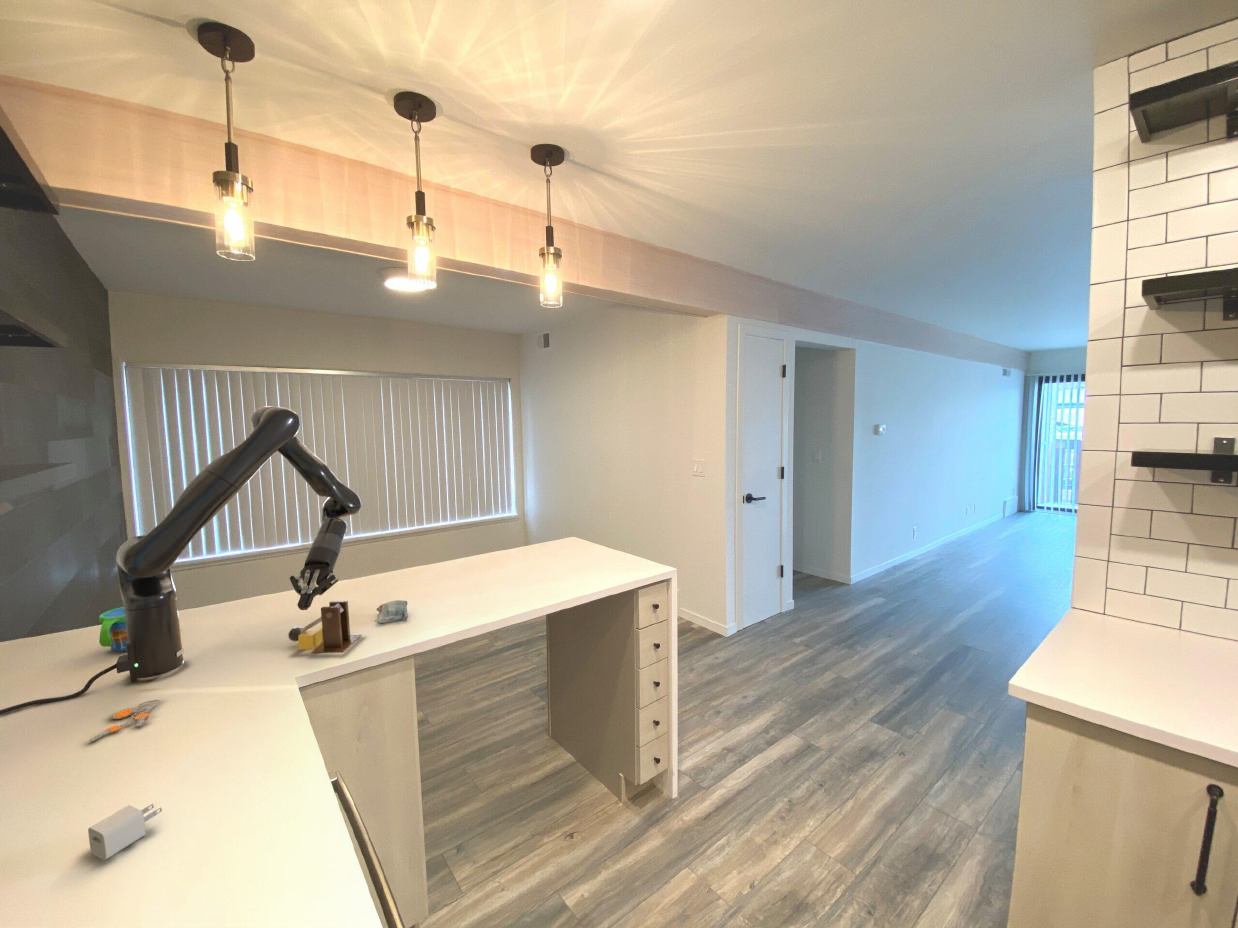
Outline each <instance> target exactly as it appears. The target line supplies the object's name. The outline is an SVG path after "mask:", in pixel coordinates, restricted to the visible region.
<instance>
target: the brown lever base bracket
mask: <svg viewBox="0 0 1238 928" xmlns="http://www.w3.org/2000/svg"><path fill="white" fill-rule="evenodd" d="M338 603H339V604H340V605H341V607H342V608H343V610H344V611H343V612H341V613H340V606H335V605H336V604H338ZM320 617H321V618H322V621H321V627H322V631H323V642H322V643H320V644H319V645H318V646H317V647H315V648H314V649H313V650H312V651H310V654H333V653H344V652H345V651H346V650H348V649H349V648H350V647H351V646H352V645H354V643H355V642H357V641H358V639H360V638H361V637H362V634H351V628H350V627H351V625H350V613H349V600H331V601H329V602H328V606H322V607H321V608H320Z"/></svg>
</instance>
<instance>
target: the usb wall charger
mask: <svg viewBox="0 0 1238 928" xmlns="http://www.w3.org/2000/svg"><path fill="white" fill-rule="evenodd" d="M150 807H151V808H150ZM154 808H155V804H154V803H151V804H149V805H147V806H145V807H144V808H142V809H139V808H137V807H135V806H132V805H130V804H128V805H126V806H125V807H123V808H121V809H119V810H118V811H115V812H114V813H113V814H111V815H109V816H107V817H105V818H103V819H102V820H100V821H98V822H96V823H95V824H93V825H91V826H90V827H88V828H87V833H88V841H89V848H90V849H89V850H90V852H91V853H92V854H93V855H94V856H96V857H97V858H100V859H102V860H103V861H106V860H108V859H110V857H111V858H112V857H113V856H114V855H116V854H117V853H119V852H120V851H122V850H124V849H125V848H127V847H128V846H130V845H132V844H133V843H135V842H136V841H138V840H139V839H141V838H142V837H144V836H145V835H146V826H145V823H147V822H148V821H149V820H151V819H153V818H154V817H156V816H157V815H159V814H160V813H161V812H163V808H162V806H160V807H159V808H157V809H155V810H153V809H154ZM151 810H153V811H152V812H150V811H151ZM149 812H150V813H149ZM147 813H148V814H147ZM145 814H147V815H145ZM144 815H145V816H144Z"/></svg>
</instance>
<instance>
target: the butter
mask: <svg viewBox="0 0 1238 928" xmlns="http://www.w3.org/2000/svg"><path fill="white" fill-rule="evenodd" d="M298 640H299V641H298V649H299V650H300V651H301V650H315V649H316V648H317V647H319V646H320V645H321V644H322V643H323V631H322V626H320V627H311V628H310V629H308V630H306V631H305V632H303V633H302V634H300V635H299V636H298Z"/></svg>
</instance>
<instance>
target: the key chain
mask: <svg viewBox="0 0 1238 928" xmlns="http://www.w3.org/2000/svg"><path fill="white" fill-rule="evenodd" d="M160 701H161V700H160V699H153V700H148V701H147V700H146V701H144V702H141V703H140V704H139V705H138V706H137V707H136V709H134V708H128V709H124V710H120V711H118V712H116V713H115V714H113V715H112V719H113V720H120V719H124V718H127V717H129V716H130V718H131V719H132V720H130V721H127V722H125V723H122V724H120V725H113V726H110V727H108V728H106V729H105V730H104V731H103V732H102V733H99V734H97V735H95V736H94V737H92V738H89V740H88V741H89V742H94V741H95V740H97V739H99V738H101V737H103V736H105V735H107V734H109V733H114V732H116V731H119V730H120V729H121V727H124V726H127V725H129V724H131V723H133V722H135V721H137V722H136V725H135V727H137V728H138V727H141V726H142V725H144V722H145V719H146V718H148V717H149V713H148V711H149V710H151V708H154V707H155V706H156V705H157V704H158V703H159V702H160ZM149 703H153V704H152V705H150V706H149V707H145V708H142V709H139V708H140V707H141V706H142V705H145V704H149ZM138 709H139V710H138Z"/></svg>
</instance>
